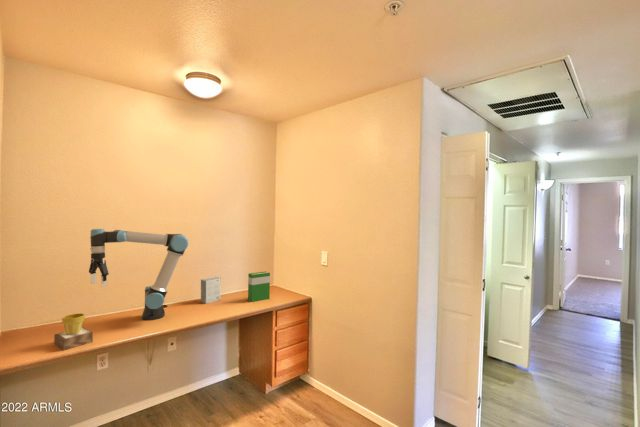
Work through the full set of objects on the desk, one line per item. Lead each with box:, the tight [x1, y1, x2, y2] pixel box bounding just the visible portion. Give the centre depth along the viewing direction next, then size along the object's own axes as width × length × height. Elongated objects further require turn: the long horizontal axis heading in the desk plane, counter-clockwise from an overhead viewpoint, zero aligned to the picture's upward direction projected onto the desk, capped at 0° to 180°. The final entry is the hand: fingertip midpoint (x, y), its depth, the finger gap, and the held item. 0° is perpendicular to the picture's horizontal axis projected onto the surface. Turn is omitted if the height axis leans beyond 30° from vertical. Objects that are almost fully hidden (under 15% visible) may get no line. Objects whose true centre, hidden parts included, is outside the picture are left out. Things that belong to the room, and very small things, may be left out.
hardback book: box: [247, 271, 271, 303], centre depth 281 cm, size 18×7×24 cm, turn 129°
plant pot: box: [61, 312, 86, 334], centre depth 184 cm, size 10×10×10 cm
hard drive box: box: [200, 276, 222, 305], centre depth 274 cm, size 16×8×20 cm, turn 144°
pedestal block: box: [53, 326, 94, 351], centre depth 184 cm, size 14×14×6 cm
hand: (98, 284), depth 204 cm, fingers open, 13 cm apart
